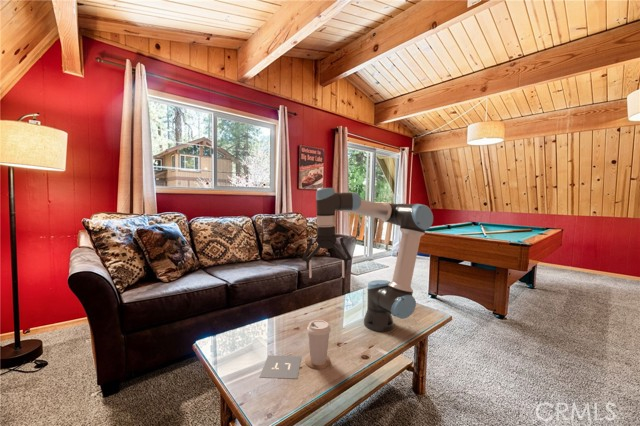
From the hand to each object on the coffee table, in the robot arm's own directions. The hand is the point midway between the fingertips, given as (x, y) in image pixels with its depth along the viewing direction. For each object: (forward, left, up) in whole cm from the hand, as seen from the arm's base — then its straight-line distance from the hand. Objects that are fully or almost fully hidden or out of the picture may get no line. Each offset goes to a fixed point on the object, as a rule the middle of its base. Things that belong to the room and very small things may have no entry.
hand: (326, 276), depth 113 cm
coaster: (+3, +4, -34) cm, 34 cm away
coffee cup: (+3, +4, -33) cm, 34 cm away
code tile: (+17, +8, -34) cm, 39 cm away
